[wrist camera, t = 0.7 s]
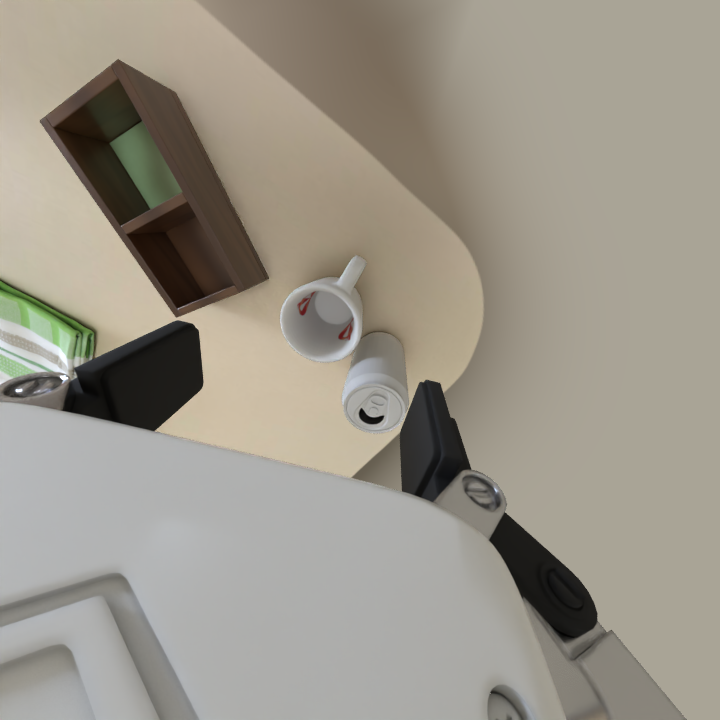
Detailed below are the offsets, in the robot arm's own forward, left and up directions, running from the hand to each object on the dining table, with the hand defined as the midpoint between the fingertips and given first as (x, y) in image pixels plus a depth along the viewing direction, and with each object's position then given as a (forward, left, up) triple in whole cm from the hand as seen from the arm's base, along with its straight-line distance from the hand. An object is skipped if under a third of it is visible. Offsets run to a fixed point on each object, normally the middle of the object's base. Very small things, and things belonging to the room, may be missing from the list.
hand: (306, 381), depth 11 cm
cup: (+3, +1, -22) cm, 22 cm away
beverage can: (+1, +10, -22) cm, 24 cm away
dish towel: (+52, -5, -22) cm, 57 cm away
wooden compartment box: (+15, -12, -22) cm, 29 cm away
